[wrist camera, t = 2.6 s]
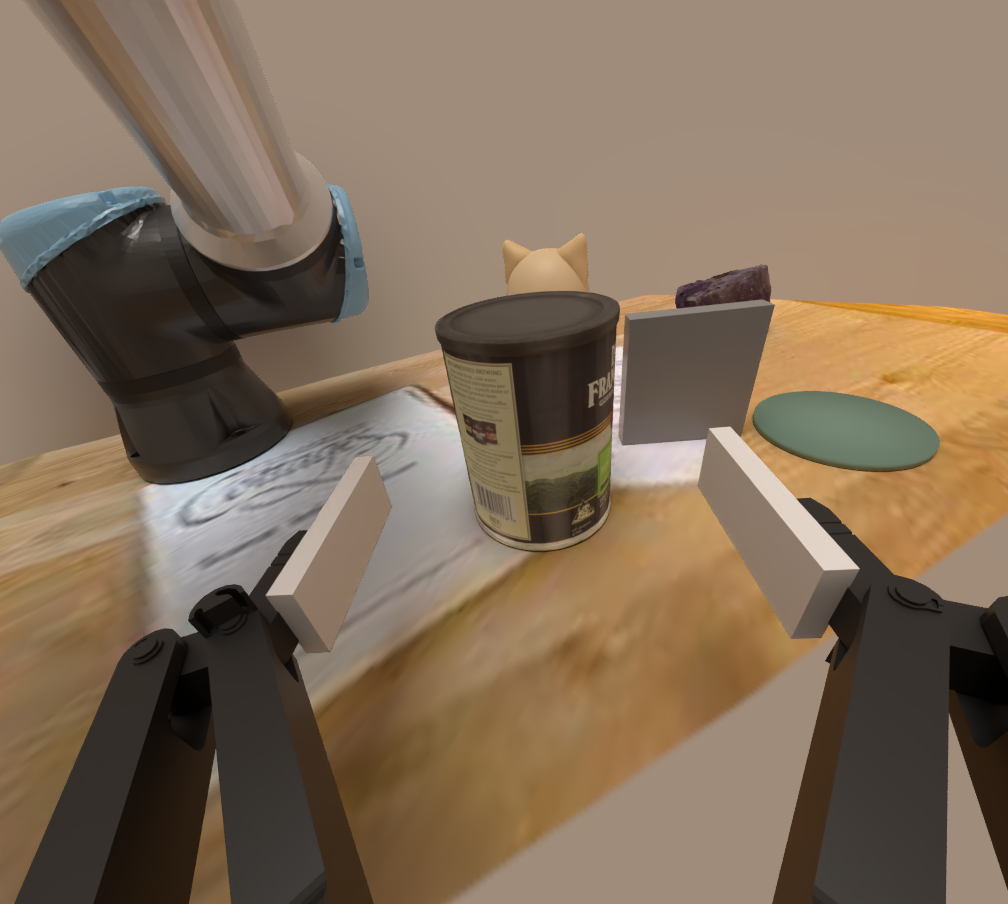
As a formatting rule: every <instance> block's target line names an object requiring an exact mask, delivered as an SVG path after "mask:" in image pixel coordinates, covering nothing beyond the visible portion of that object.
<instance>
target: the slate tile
mask: <svg viewBox="0 0 1008 904" xmlns="http://www.w3.org/2000/svg"><path fill="white" fill-rule="evenodd" d="M773 309H774V304H772V303H770V302H768V301H765V300H754V301H744V302H735V303H726V304H716V305H707V306H698V307H688V308H679V309H670V310H660V311H651V312H641V313H632V314H625V327H624V345H623V364H622V382H621V400H620V418H619V438H620V441H621V444H622V445H635V444H648V443H662V442H675V441H688V440H702V439H707V435H708V430H709V428H719V427H731V428H732V429H733V430H734V431H735V432H736V433H737V435H738V436H739V437H741V433H742V429H743V425H744V422H745V418H746V414H747V410H748V406H749V402H750V398H751V394H752V391H753V387H754V383H755V379H756V375H757V371H758V367H759V363H760V360H761V356H762V352H763V348H764V344H765V340H766V336H767V333H768V329H769V325H770V321H771V317H772V313H773Z"/></svg>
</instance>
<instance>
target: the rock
mask: <svg viewBox="0 0 1008 904" xmlns="http://www.w3.org/2000/svg"><path fill="white" fill-rule="evenodd" d="M770 295H771V285H770V282H769V274H768V266H767V265H759V266H756V267H751V268H747V269H742V270H734V271H730V272H727V273H724V274H721V275H717V276H713V277H712V278H710V279H707V280H705V281H701V280H697V281H696V282H695V283H689V284H687V285H683V286H681V287H679V288H678V289H677V293H676V299H675V304H676V308H677V309H679V308H688V307H698V306H707V305H716V304H726V303H735V302H744V301H754V300H765V301H768V302H770Z"/></svg>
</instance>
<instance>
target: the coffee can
mask: <svg viewBox="0 0 1008 904" xmlns="http://www.w3.org/2000/svg"><path fill="white" fill-rule="evenodd" d="M619 314H620V306H619V304H618V302H617V301H615V300H614V299H612V298H610V297H607V296H603V295H600V294H596V293H589V292H579V291H543V292H531V293H522V294H515V295H508V296H503V297H497V298H493V299H488V300H484V301H480V302H476V303H473V304H470V305H467V306H464V307H461V308H459V309H456V310H454V311H452V312H450V313H448V314H447V315H445V316H443V317H442V318H440V319H439V321H437V323H436V325H435V332H436V336H437V339H438V341H439V342H440V344H441V347H442V351H443V357H444V361H445V365H446V370H447V376H448V380H449V385H450V391H451V395H452V399H453V404H454V409H455V413H456V419H457V423H458V427H459V432H460V437H461V442H462V447H463V451H464V456H465V461H466V465H467V470H468V475H469V480H470V485H471V489H472V494H473V499H474V504H475V514H476V518H477V520H478V522H479V524H480V526H481V527H482V528H483V530H484V531H485V532H486V533H488V534H489V535H490V536H491V537H493V538H494V539H495V540H497V541H499V542H501V543H503V544H505V545H508V546H511V547H514V548H518V549H524V550H529V551H537V550H539V551H548V550H556V549H561V548H565V547H568V546H572V545H574V544H577V543H579V542H581V541H583V540H585V539H587V538H589V537H590V536H591V535H593V534H594V533H595V532H596V531H597V530H598V529H599V528H600V527H601V526H602V525H603V523H604V522H605V520H606V518H607V516H608V514H609V511H610V506H611V499H610V475H611V446H612V421H613V400H614V377H615V374H614V373H615V351H616V326H617V323H618V321H619Z"/></svg>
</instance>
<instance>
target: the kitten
mask: <svg viewBox="0 0 1008 904" xmlns="http://www.w3.org/2000/svg"><path fill="white" fill-rule="evenodd" d="M503 257H504V263H505V278H506V283H507V296H508V295H515V294H522V293H531V292H543V291H579V292H589V293H590V291H589V285H588V264H587V243H586V238H585V236H584V234H583V233H580V234H579V235H577V236H576V237H575V238H574V239H572V240H571V241H570V242H568V243H567V244H565V245H564V246H562V247H561V248H560V249H555V248H544V249H539V250H535V251H533V252H531V251H529V250H528V249H526V248H524V247H522V246H519V245H518V244H516V243H514V242H512V241H510V240H506V241H505V242H504V243H503Z"/></svg>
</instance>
